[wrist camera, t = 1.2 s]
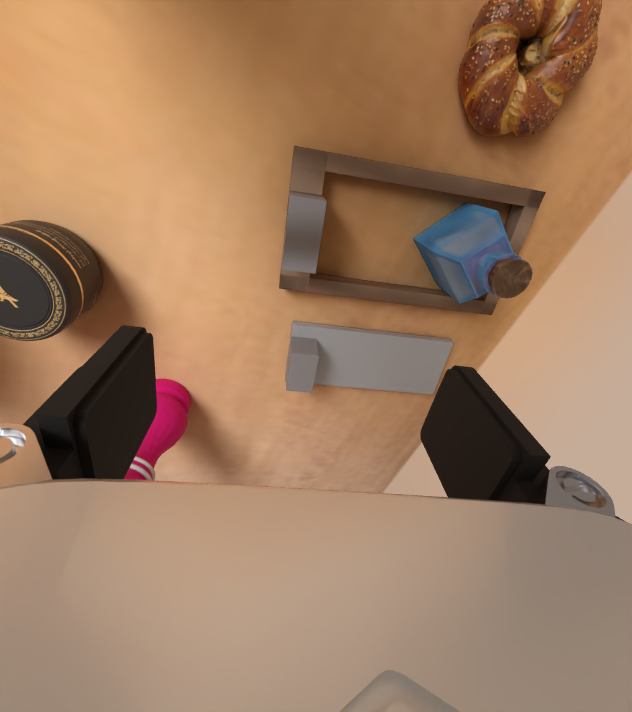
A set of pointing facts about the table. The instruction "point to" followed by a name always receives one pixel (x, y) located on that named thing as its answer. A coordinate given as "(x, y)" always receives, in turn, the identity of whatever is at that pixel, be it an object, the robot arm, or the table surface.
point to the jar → (44, 279)
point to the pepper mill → (161, 428)
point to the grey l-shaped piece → (363, 359)
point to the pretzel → (525, 62)
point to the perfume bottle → (473, 255)
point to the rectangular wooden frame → (312, 165)
